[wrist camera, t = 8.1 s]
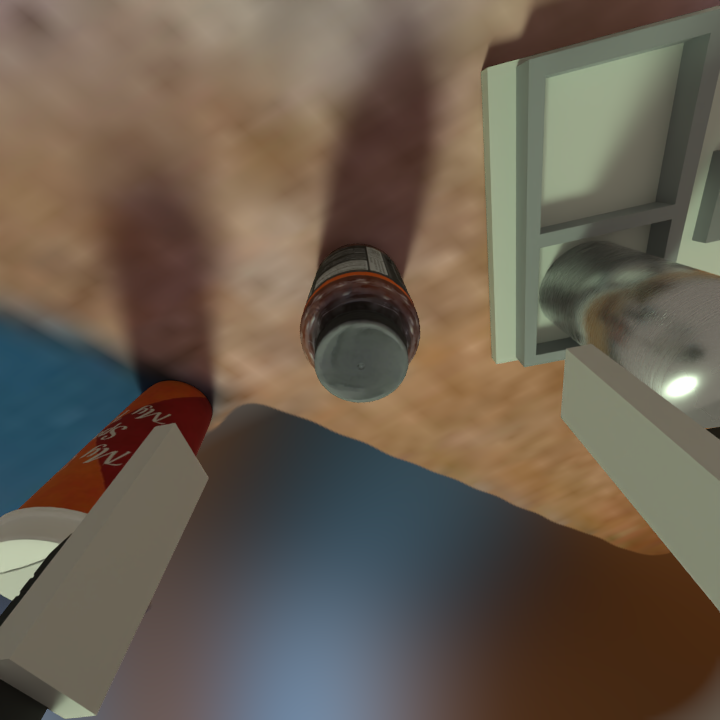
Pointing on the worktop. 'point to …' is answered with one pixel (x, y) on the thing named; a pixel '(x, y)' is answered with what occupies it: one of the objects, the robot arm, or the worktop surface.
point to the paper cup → (93, 478)
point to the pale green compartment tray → (599, 164)
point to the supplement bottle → (359, 324)
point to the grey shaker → (643, 319)
